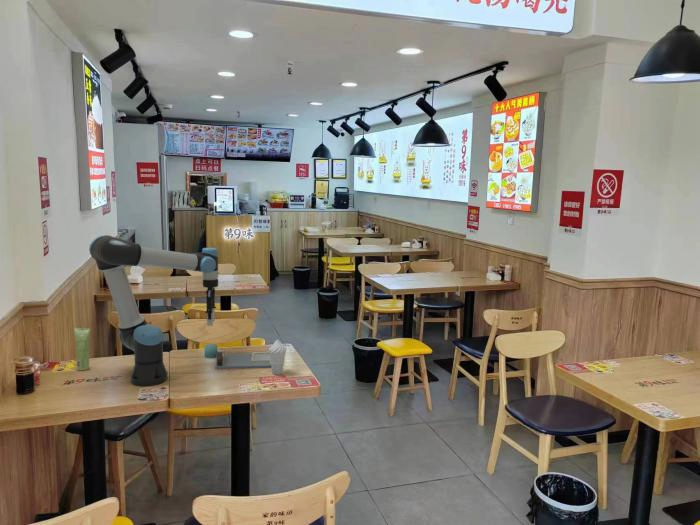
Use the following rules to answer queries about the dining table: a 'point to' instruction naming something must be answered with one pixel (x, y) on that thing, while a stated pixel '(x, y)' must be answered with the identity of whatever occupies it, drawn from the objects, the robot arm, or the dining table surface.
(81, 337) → the tube
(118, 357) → the dining table surface
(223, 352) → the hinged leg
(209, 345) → the teal egg shape
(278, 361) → the soft serve ice cream cone
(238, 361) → the jig board
